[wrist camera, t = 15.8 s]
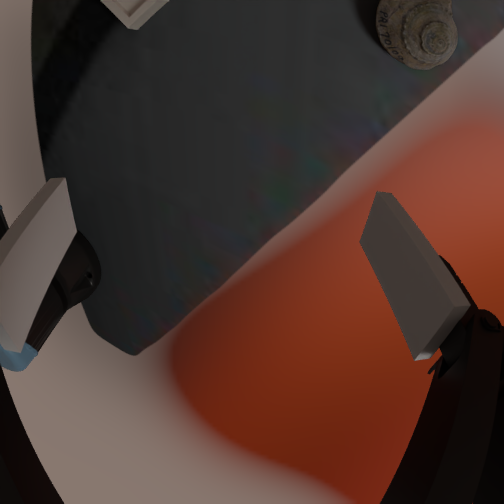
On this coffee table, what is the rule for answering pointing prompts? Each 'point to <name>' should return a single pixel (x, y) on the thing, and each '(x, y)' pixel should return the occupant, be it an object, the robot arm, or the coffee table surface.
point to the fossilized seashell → (417, 31)
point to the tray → (134, 10)
